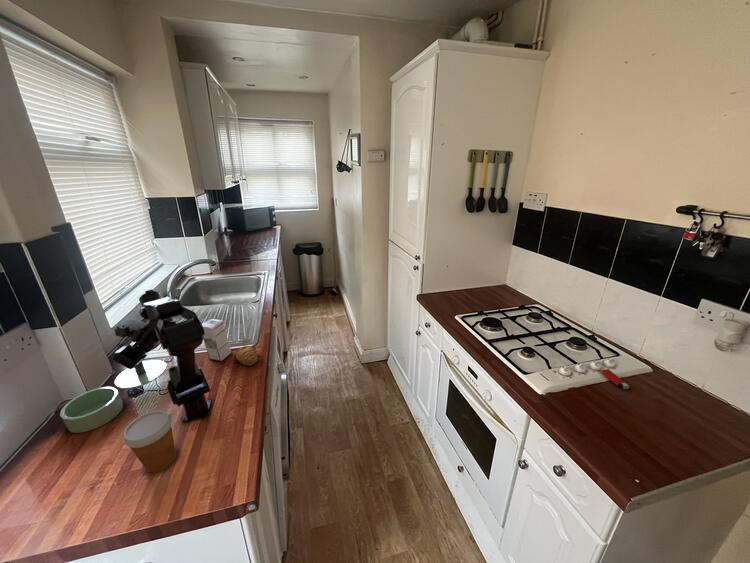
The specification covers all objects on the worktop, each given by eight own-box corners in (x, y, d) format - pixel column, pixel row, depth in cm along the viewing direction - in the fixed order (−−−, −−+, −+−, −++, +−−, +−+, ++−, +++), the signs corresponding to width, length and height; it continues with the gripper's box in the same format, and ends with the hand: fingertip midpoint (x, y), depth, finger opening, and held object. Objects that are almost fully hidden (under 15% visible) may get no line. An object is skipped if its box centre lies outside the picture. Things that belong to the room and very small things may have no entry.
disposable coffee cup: (175, 437, 82) (162, 403, 77) (189, 457, 76) (176, 421, 72) (132, 463, 75) (115, 427, 71) (145, 487, 69) (127, 450, 65)
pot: (111, 426, 86) (105, 412, 84) (56, 437, 83) (48, 424, 81) (130, 395, 97) (125, 383, 95) (82, 404, 94) (76, 392, 92)
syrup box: (231, 352, 118) (224, 319, 112) (220, 361, 112) (212, 327, 107) (219, 350, 119) (211, 317, 114) (208, 359, 114) (198, 325, 108)
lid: (159, 384, 94) (150, 361, 91) (107, 394, 91) (96, 371, 88) (172, 359, 106) (165, 338, 103) (126, 367, 103) (118, 345, 100)
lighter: (609, 369, 102) (630, 385, 94) (608, 372, 102) (629, 388, 95) (601, 369, 101) (621, 386, 94) (600, 372, 102) (620, 389, 95)
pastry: (263, 361, 112) (261, 352, 111) (245, 369, 108) (243, 360, 106) (252, 350, 118) (250, 342, 117) (234, 358, 114) (232, 350, 113)
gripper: (152, 298, 99) (129, 329, 103) (106, 328, 81) (80, 364, 86) (183, 319, 102) (159, 348, 106) (145, 352, 84) (118, 385, 89)
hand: (131, 359), depth 96 cm, fingers closed on lid, 2 cm apart
